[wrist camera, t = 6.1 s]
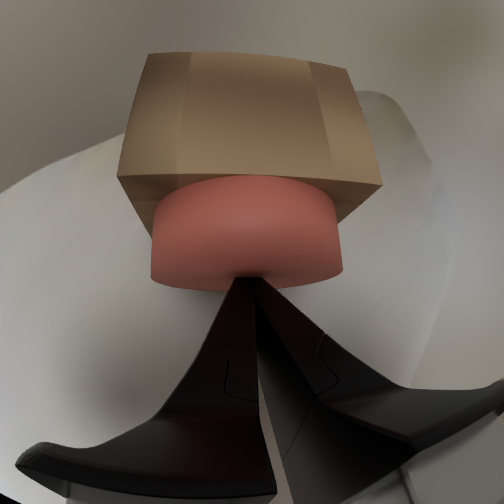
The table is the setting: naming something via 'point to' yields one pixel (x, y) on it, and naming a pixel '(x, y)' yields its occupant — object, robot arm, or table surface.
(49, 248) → the table surface
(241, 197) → the plunger
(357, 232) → the table surface
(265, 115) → the sleeve
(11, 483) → the table surface
